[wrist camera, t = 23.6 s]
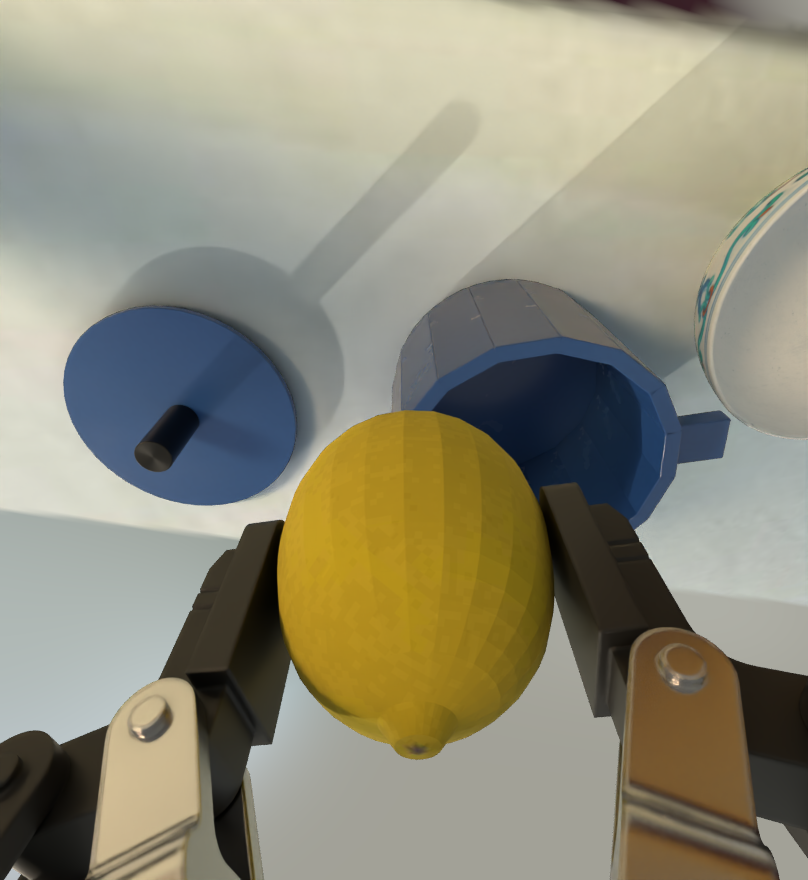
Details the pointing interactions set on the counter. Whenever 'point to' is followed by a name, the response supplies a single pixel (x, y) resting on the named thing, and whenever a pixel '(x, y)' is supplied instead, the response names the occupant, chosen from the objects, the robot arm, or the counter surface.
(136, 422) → the lid
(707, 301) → the chinaware
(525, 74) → the counter surface
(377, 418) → the lemon
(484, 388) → the pot
